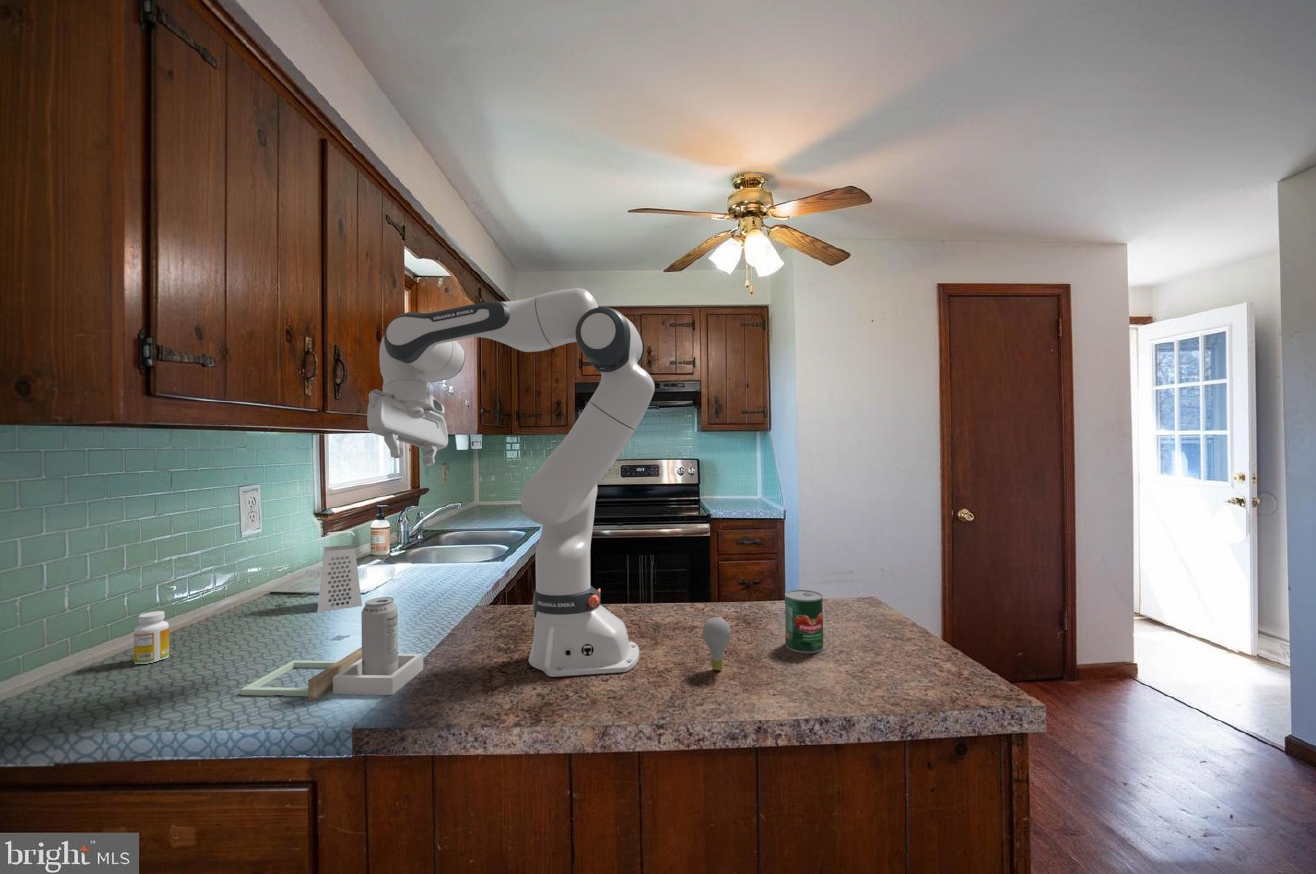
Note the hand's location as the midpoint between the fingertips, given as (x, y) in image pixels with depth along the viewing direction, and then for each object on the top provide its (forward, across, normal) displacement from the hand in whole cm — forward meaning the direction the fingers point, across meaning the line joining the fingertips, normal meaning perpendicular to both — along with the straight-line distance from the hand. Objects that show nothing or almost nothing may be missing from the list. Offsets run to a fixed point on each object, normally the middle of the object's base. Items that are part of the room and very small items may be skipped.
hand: (413, 461), depth 115 cm
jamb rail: (+39, -4, +18) cm, 43 cm away
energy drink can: (+41, -2, +11) cm, 42 cm away
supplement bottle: (+25, -7, +63) cm, 69 cm away
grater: (+18, +34, +57) cm, 68 cm away
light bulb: (+55, +19, -47) cm, 74 cm away
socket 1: (+37, -6, +26) cm, 45 cm away
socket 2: (+41, -2, +11) cm, 42 cm away
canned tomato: (+56, +36, -62) cm, 91 cm away
